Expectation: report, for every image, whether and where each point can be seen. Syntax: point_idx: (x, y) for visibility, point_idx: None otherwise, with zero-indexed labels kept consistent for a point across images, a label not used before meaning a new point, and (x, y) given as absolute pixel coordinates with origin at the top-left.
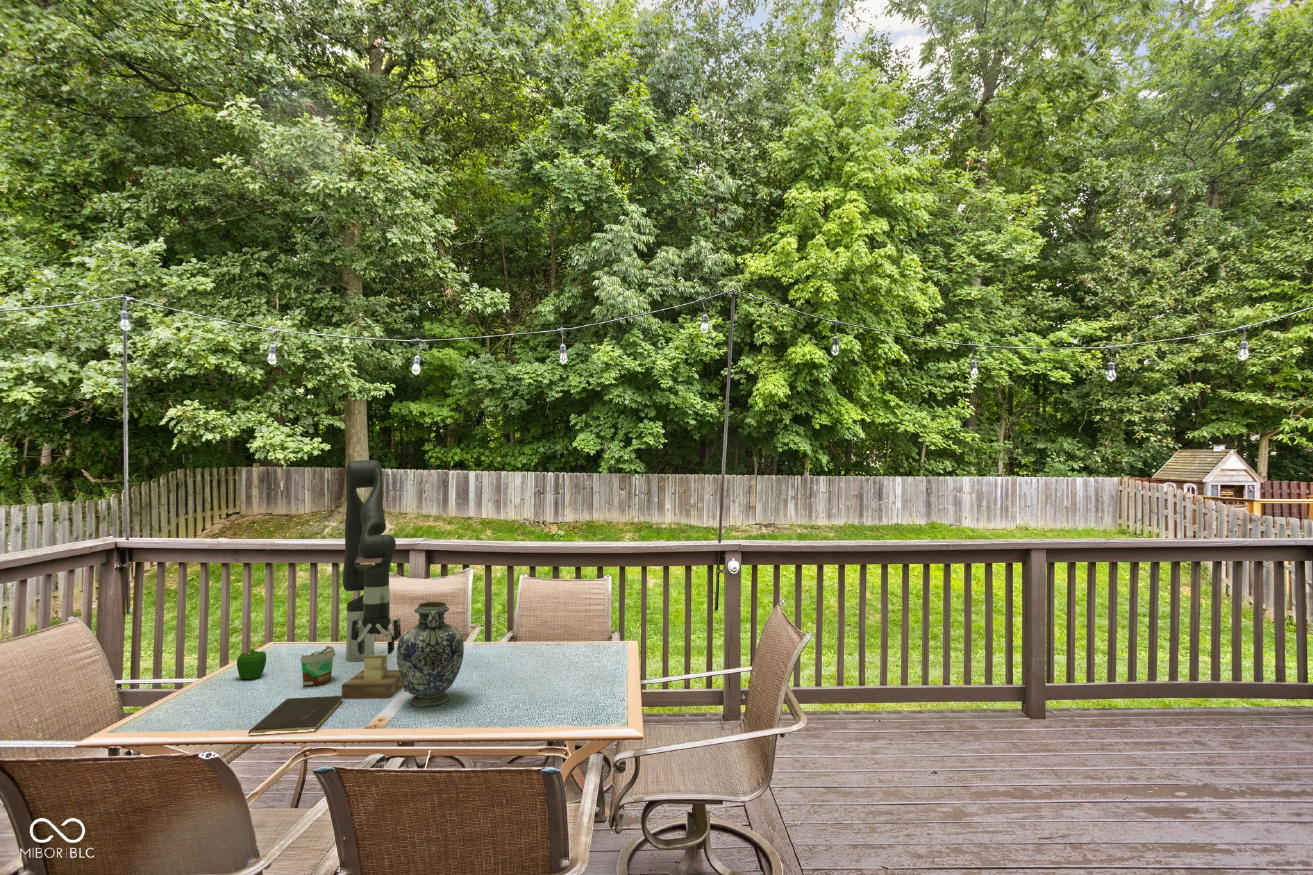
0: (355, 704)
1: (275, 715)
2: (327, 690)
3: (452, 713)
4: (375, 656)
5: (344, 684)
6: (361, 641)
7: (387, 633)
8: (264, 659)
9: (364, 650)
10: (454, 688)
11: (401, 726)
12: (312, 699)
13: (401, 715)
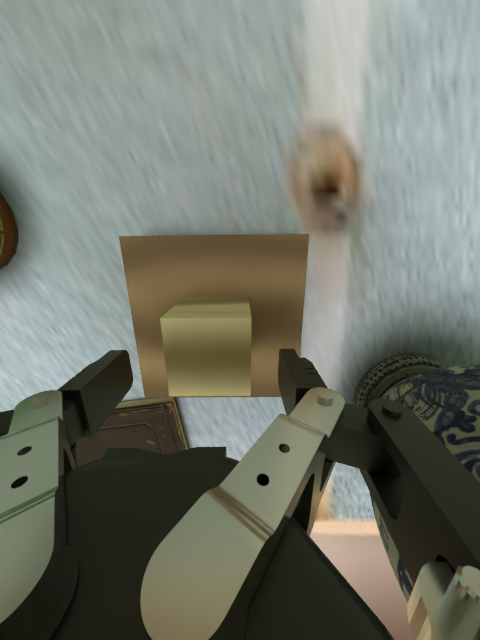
0: (218, 412)
1: None
2: (72, 307)
3: None
4: (199, 345)
5: (151, 394)
6: (80, 432)
7: (313, 520)
8: None
9: (121, 355)
10: (464, 299)
11: (364, 514)
12: (107, 428)
13: (350, 471)
